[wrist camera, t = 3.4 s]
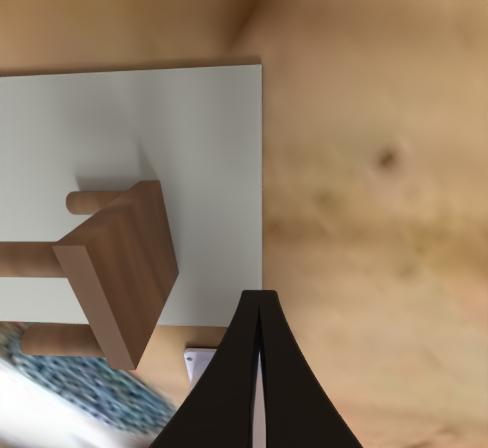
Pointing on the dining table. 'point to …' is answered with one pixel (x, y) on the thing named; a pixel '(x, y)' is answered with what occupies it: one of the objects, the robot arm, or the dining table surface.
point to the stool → (103, 274)
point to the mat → (138, 177)
